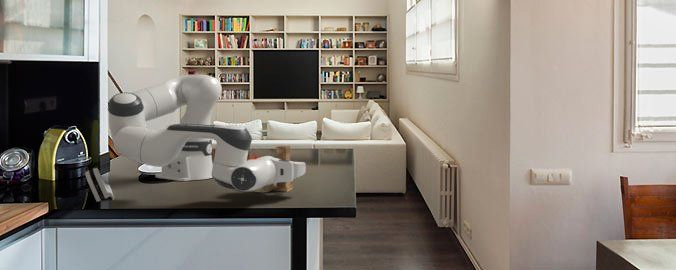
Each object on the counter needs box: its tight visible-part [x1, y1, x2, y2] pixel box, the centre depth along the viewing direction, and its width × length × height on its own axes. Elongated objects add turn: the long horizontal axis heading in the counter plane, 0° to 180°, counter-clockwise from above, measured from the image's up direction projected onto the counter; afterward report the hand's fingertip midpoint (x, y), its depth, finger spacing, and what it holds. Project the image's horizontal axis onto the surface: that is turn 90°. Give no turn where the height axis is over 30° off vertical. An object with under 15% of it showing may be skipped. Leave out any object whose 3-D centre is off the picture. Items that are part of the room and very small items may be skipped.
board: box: [252, 183, 276, 193], centre depth 181 cm, size 10×22×2 cm, turn 163°
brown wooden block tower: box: [273, 144, 294, 193], centre depth 173 cm, size 7×5×15 cm
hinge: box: [84, 167, 115, 202], centre depth 162 cm, size 17×5×10 cm, turn 27°
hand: (283, 163), depth 173 cm, fingers open, 8 cm apart
